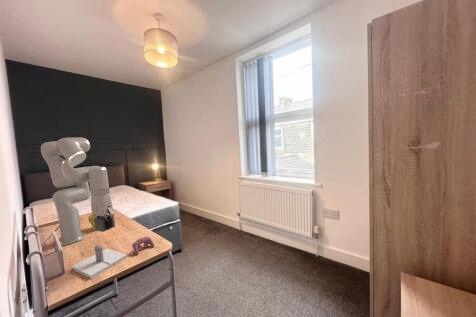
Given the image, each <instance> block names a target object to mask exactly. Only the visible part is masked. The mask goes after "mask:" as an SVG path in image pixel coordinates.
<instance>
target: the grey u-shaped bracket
mask: <svg viewBox="0 0 476 317" xmlns="http://www.w3.org/2000/svg"><path fill="white" fill-rule="evenodd" d="M108 216H109V215H107V218H108ZM105 221H106V220H105V218H104V216H100V217H97V218H94V224H95V230H94V231H96V232H101V233H104V232H106V231H109V230H111V229H113V228H115V227H116V222H115V214H114V215H113V219H112V224H113V227H111V228H109V229H106V227H105Z"/></svg>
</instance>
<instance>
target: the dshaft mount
mask: <svg viewBox="0 0 476 317" xmlns="http://www.w3.org/2000/svg"><path fill="white" fill-rule="evenodd" d="M94 253H95V254H93V255H91V256H88V257H87V258H85V259H83V260H81V261H80V262H77V263H76V264H74V265H72V266H71V269H73V271H74V272H76V273H78V274H81V275H83V276H84V277H87V278H88V279H94V278H95V277H97V276H99V275H100V274H102V273H103V272H106V271H107V270H108V269H110V268H113V267H114V266H115V265H117V264H119V263H120V262H122V261H124V260H125V259H127V254H124V253H121V252H119V251H116V250H114V249H113V250H112V249H110V248H105V249H103V245H102V244H99V245H96V246H95V247H94Z"/></svg>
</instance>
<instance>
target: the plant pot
mask: <svg viewBox="0 0 476 317" xmlns="http://www.w3.org/2000/svg"><path fill="white" fill-rule="evenodd" d="M87 218H88V222H89V223H90V225H91V227H92V229H93V231H96V230H95V224H94V218H95V215H93V214H92V213H91V214H90V215H88V216H87Z"/></svg>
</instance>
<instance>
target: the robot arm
mask: <svg viewBox="0 0 476 317" xmlns="http://www.w3.org/2000/svg"><path fill="white" fill-rule="evenodd" d="M90 149H91V143H90V142H89V140H88V139H87V138H85V137H80V136H79V137H62V138H60V139H58V140H57V141H48V142H43V143H42V144H41V146H40V153H41V156H42V158H43V159H44V161H45V163H46V164H47V165H48V169H49V173H50V177H51V182H52V184H53V186H54V187H55V188H58V189H59V188H60V190H58V191H56V192H54V193H53V195H52V200H53V203H54V206H55V209H56V213H57V214H56V215H57V219H58V227H59V234H60V238H61V239H59V241H60V243H61V244H62V245H61V246H67V245H73V244H75V243H78V242H80V241H82V240H84V239H85V238H86V234H85V233H84V232H82V226H81V220H80V213H79V209H78V207H77V206H74V204H76V203H81V202H84V201H87V200H89V199H90V207H91V208H90V210H91V214H93V215H95V218H97V217H100V216H104V218H105V220H106V221H105V227H106V229H109V228H111V227H113V224H112V219H113V215H114V216H115V212H114V210H113V208H114V207H113V203H112V198H111V195H110V194H111V193H110V186H109V183H110V182H109V176H108V169H107V168H106V167H105V166H100V165H91V166H83V167H76V166H78V165H80V164H82V163H83V162H84V161H85V160H86V158H87V153H88V152H89V150H90ZM86 152H87V153H86ZM61 156H63V157H64V158H65V159H64V158H63V157H61ZM74 167H75V168H74ZM72 186H74V187H72ZM65 187H66V188H65ZM67 187H69V188H67ZM61 188H64V189H61ZM107 215H109V216H108V218H107ZM113 228H114V227H113ZM111 229H112V228H111ZM109 230H110V229H109Z"/></svg>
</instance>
